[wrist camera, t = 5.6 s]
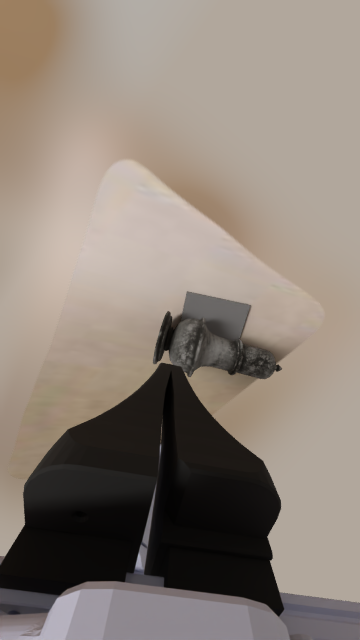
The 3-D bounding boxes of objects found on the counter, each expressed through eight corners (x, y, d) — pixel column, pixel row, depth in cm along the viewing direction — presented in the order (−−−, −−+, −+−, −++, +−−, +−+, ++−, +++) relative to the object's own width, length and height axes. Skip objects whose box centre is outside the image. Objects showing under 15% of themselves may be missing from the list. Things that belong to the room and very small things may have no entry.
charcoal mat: (231, 360, 21) (231, 361, 21) (174, 349, 20) (174, 350, 20) (249, 304, 19) (250, 305, 19) (187, 291, 19) (187, 291, 18)
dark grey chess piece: (169, 297, 15) (303, 331, 15) (169, 321, 21) (266, 347, 20) (149, 362, 13) (305, 404, 13) (154, 370, 19) (263, 400, 18)
